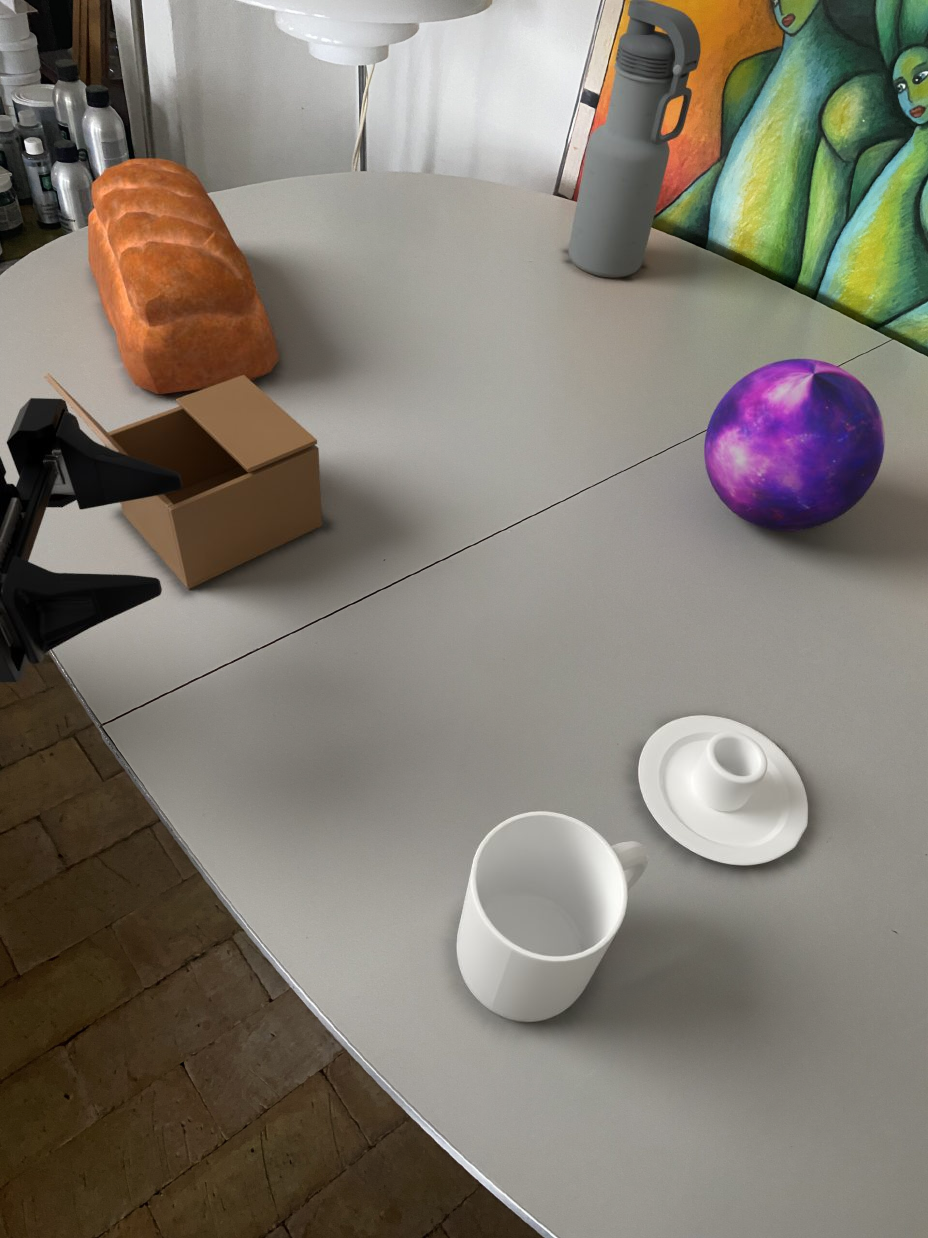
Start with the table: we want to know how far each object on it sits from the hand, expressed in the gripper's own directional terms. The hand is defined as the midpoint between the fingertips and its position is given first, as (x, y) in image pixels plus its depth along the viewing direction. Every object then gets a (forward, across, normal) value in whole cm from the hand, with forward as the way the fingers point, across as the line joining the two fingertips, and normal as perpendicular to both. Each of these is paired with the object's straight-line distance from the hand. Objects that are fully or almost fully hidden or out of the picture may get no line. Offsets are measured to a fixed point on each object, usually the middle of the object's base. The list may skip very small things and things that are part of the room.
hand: (171, 530), depth 52 cm
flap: (-7, +13, +4) cm, 15 cm away
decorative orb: (+50, +20, +16) cm, 56 cm away
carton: (0, +18, +16) cm, 24 cm away
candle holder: (+37, -10, +16) cm, 41 cm away
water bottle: (+44, +68, +16) cm, 82 cm away
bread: (-8, +52, +16) cm, 55 cm away
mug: (+23, -20, +16) cm, 34 cm away
